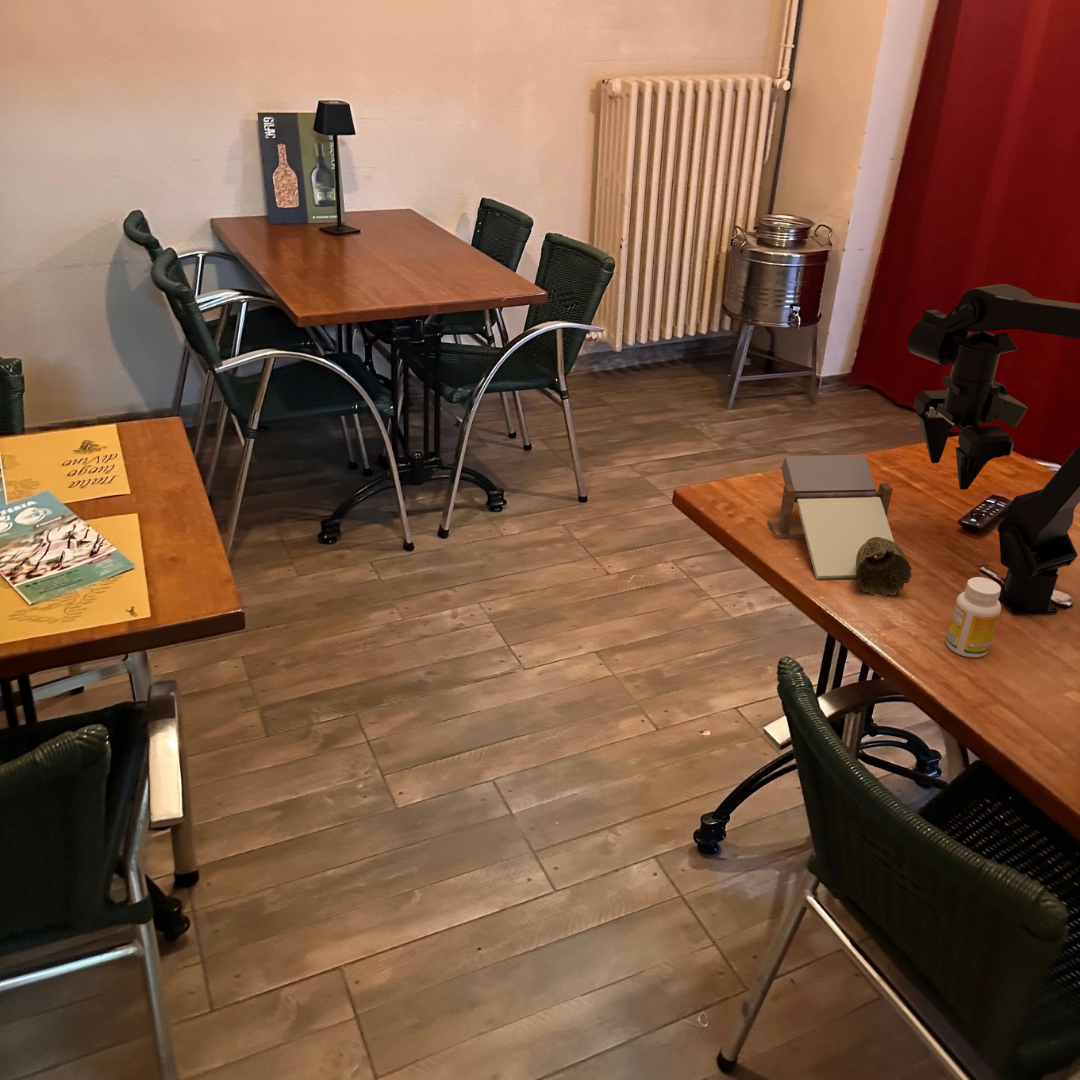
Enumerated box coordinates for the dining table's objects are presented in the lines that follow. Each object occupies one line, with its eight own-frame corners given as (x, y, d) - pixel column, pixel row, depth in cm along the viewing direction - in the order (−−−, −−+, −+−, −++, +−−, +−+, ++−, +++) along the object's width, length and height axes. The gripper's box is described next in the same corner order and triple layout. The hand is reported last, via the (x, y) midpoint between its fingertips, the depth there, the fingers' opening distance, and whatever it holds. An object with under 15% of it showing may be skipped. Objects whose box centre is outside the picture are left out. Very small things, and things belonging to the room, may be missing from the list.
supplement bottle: (938, 647, 129) (954, 585, 124) (955, 630, 132) (971, 569, 128) (979, 664, 126) (997, 601, 121) (995, 646, 129) (1013, 584, 125)
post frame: (887, 536, 155) (897, 488, 151) (775, 538, 154) (783, 490, 150) (875, 521, 160) (885, 474, 156) (767, 523, 158) (773, 476, 154)
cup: (843, 562, 147) (850, 592, 140) (856, 520, 143) (864, 549, 136) (893, 569, 146) (903, 600, 139) (908, 528, 142) (918, 557, 136)
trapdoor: (896, 585, 147) (904, 573, 144) (811, 588, 146) (817, 576, 143) (859, 466, 160) (866, 453, 157) (780, 467, 159) (786, 454, 156)
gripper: (1063, 397, 131) (1033, 502, 139) (993, 353, 147) (970, 448, 155) (984, 399, 130) (958, 504, 138) (922, 354, 146) (902, 450, 154)
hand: (948, 475), depth 146 cm, fingers open, 9 cm apart
